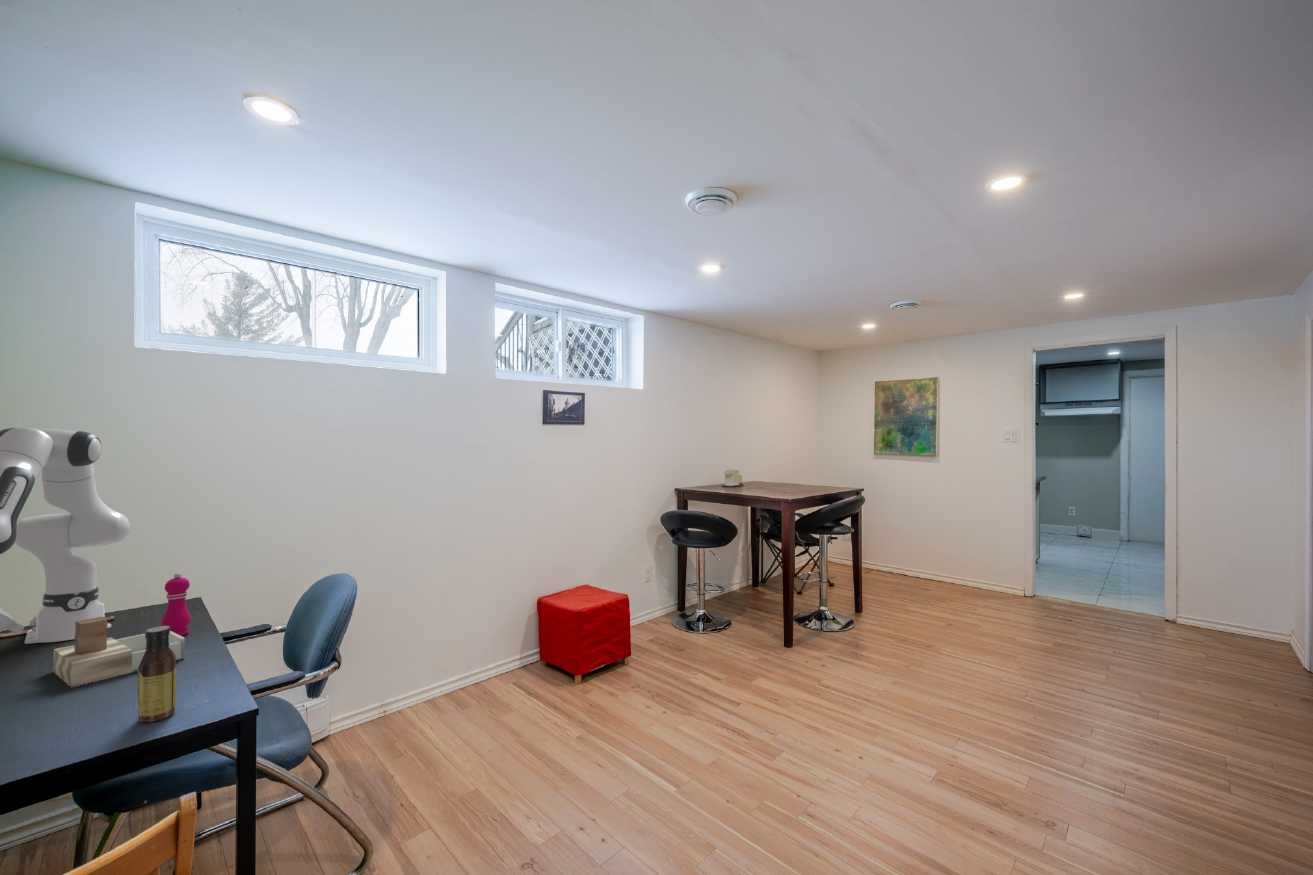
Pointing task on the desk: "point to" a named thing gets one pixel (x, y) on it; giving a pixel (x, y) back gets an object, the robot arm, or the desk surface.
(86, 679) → the beige box sleeve
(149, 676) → the sauce bottle
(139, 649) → the tray
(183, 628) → the pepper mill
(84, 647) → the walnut block
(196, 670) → the desk surface
